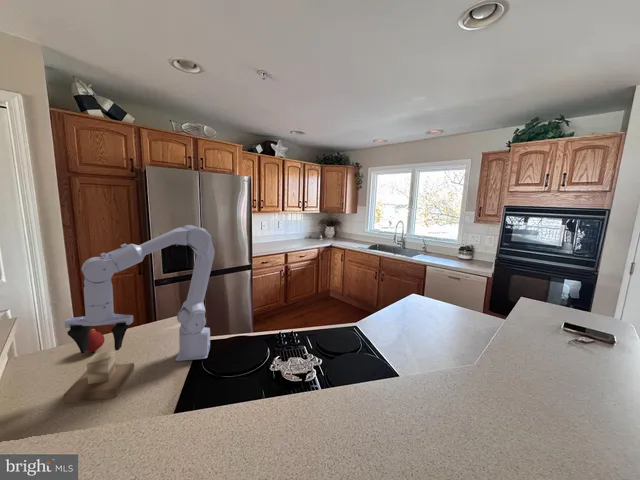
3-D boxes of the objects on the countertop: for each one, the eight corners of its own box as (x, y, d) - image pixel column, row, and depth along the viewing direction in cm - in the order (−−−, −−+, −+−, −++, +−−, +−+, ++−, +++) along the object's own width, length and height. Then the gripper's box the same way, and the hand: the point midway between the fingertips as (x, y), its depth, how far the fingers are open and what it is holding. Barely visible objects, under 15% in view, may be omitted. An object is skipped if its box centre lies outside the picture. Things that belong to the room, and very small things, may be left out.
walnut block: (134, 372, 77) (134, 362, 77) (116, 398, 67) (115, 388, 66) (90, 376, 74) (90, 367, 74) (64, 405, 64) (63, 394, 63)
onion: (91, 358, 81) (89, 335, 80) (76, 355, 82) (75, 332, 81) (109, 348, 87) (108, 326, 86) (95, 345, 88) (94, 324, 87)
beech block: (115, 370, 73) (114, 351, 72) (108, 381, 69) (107, 360, 68) (96, 373, 71) (95, 353, 71) (88, 384, 67) (86, 363, 66)
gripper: (137, 296, 73) (138, 339, 75) (75, 297, 69) (78, 344, 71) (126, 305, 67) (127, 353, 68) (57, 308, 63) (61, 359, 64)
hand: (101, 349), depth 69 cm, fingers open, 7 cm apart
